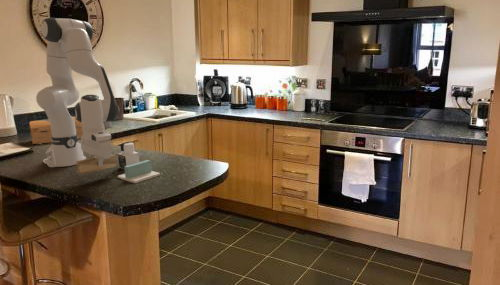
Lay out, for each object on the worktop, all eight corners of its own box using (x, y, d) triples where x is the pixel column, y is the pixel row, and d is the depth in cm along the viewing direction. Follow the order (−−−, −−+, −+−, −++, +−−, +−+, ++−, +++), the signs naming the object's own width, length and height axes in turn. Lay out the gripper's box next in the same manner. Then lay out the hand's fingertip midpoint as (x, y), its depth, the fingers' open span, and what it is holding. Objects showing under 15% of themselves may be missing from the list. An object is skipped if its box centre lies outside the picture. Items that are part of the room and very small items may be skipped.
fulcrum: (117, 177, 184) (116, 164, 183) (142, 170, 194) (141, 157, 192) (135, 183, 176) (133, 169, 174) (160, 175, 185) (159, 162, 184)
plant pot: (123, 120, 325) (120, 100, 321) (102, 121, 325) (99, 100, 321) (128, 117, 341) (126, 97, 337) (108, 117, 340) (106, 98, 337)
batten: (77, 172, 178) (76, 161, 177) (111, 164, 189) (110, 153, 188) (81, 174, 175) (80, 163, 174) (116, 166, 187) (115, 155, 185)
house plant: (106, 130, 291) (103, 106, 287) (91, 129, 296) (88, 106, 293) (121, 126, 303) (118, 103, 299) (106, 125, 309) (104, 103, 305)
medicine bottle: (119, 167, 200) (116, 143, 197) (132, 164, 204) (130, 140, 202) (126, 170, 195) (123, 145, 192) (140, 167, 199) (137, 142, 197)
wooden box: (83, 134, 280) (80, 114, 277) (85, 139, 266) (82, 117, 262) (33, 140, 268) (29, 119, 265) (32, 145, 253) (28, 123, 250)
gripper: (75, 131, 183) (78, 161, 186) (98, 138, 170) (102, 171, 173) (89, 129, 188) (92, 158, 191) (113, 135, 174) (115, 167, 177)
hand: (97, 164), depth 182 cm, fingers closed on batten, 4 cm apart
